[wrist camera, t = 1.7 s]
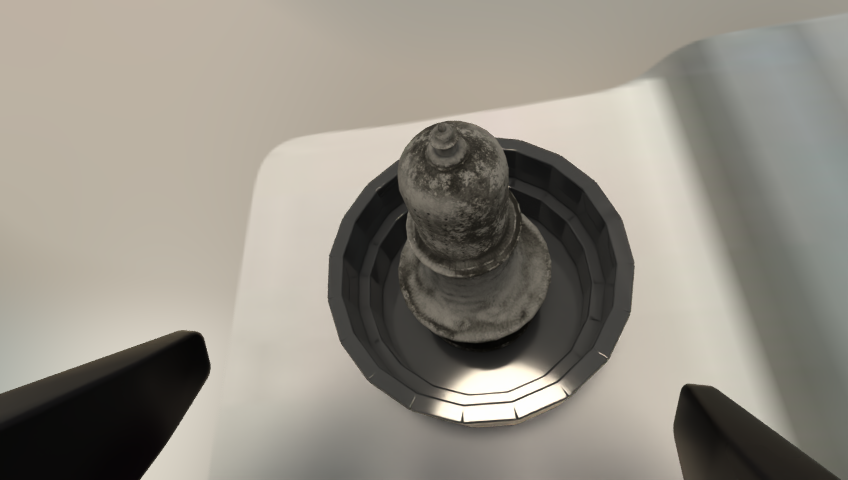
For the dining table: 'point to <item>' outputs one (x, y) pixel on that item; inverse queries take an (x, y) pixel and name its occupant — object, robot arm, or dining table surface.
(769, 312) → the dining table surface
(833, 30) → the dining table surface
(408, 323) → the charcoal bowl
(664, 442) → the dining table surface
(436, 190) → the salt shaker
